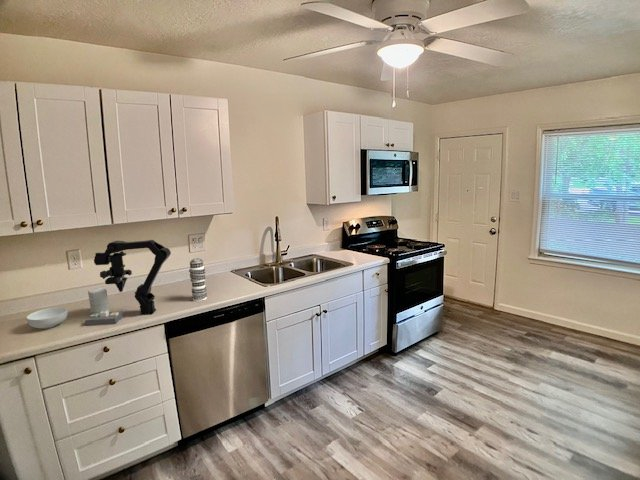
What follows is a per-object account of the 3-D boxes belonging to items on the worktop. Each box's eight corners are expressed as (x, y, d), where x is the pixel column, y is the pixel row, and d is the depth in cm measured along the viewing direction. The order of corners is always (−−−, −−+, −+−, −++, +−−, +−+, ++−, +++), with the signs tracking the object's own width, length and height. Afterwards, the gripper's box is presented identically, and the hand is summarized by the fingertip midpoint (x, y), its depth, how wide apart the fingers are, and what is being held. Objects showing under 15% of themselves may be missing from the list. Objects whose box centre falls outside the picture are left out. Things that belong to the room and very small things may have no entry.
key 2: (119, 317, 192) (118, 312, 191) (116, 319, 189) (115, 314, 188) (113, 317, 191) (112, 312, 191) (110, 319, 188) (109, 314, 188)
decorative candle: (189, 301, 215) (185, 261, 210) (194, 296, 224) (190, 257, 219) (205, 301, 215) (201, 260, 210) (209, 295, 224) (205, 257, 220)
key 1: (99, 318, 191) (98, 313, 190) (96, 320, 188) (95, 315, 187) (93, 318, 190) (92, 313, 190) (90, 320, 188) (89, 315, 187)
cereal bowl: (27, 336, 174) (25, 322, 173) (29, 324, 188) (27, 312, 186) (69, 326, 184) (67, 313, 183) (68, 316, 197) (66, 304, 196)
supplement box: (104, 307, 209) (101, 287, 207) (110, 310, 205) (106, 289, 202) (90, 311, 204) (87, 290, 201) (95, 314, 199) (92, 293, 197)
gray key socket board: (124, 316, 195) (123, 311, 195) (115, 323, 186) (115, 318, 185) (95, 318, 194) (94, 312, 193) (85, 325, 184) (84, 320, 184)
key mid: (109, 315, 191) (108, 310, 190) (106, 317, 188) (105, 312, 188) (103, 315, 191) (102, 310, 190) (100, 317, 188) (99, 312, 187)
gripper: (109, 260, 202) (113, 287, 205) (92, 269, 183) (96, 298, 186) (130, 259, 203) (133, 286, 206) (115, 268, 184) (119, 297, 187)
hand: (121, 291), depth 196 cm, fingers closed
